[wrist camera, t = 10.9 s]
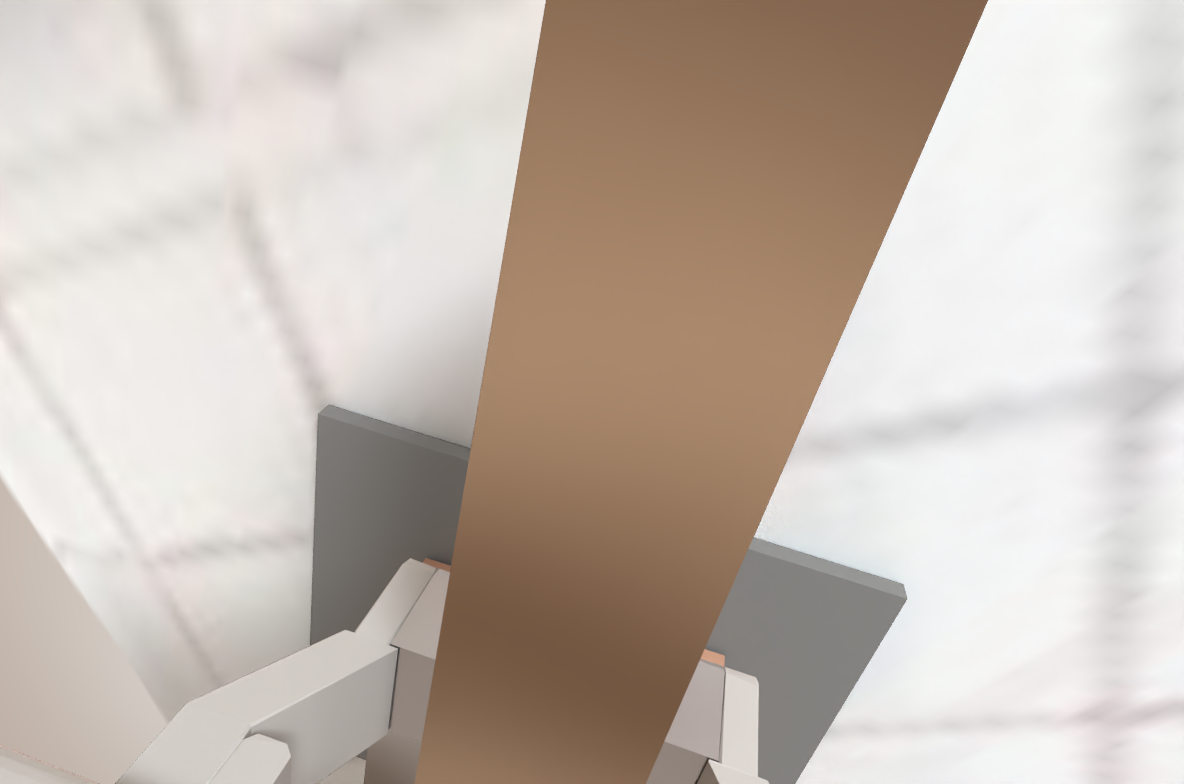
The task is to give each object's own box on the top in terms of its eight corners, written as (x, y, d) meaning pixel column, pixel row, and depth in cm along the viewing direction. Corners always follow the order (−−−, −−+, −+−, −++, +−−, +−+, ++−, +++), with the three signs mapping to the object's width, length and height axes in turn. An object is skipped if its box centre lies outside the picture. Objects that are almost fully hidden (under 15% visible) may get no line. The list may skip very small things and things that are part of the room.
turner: (488, -106, 8) (240, -246, 4) (1094, 42, 8) (1435, 33, 4) (368, 854, 18) (261, 1070, 14) (625, 954, 17) (584, 1209, 14)
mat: (903, 584, 20) (907, 598, 20) (731, 873, 28) (730, 889, 27) (328, 404, 22) (318, 413, 21) (314, 726, 29) (306, 738, 29)
